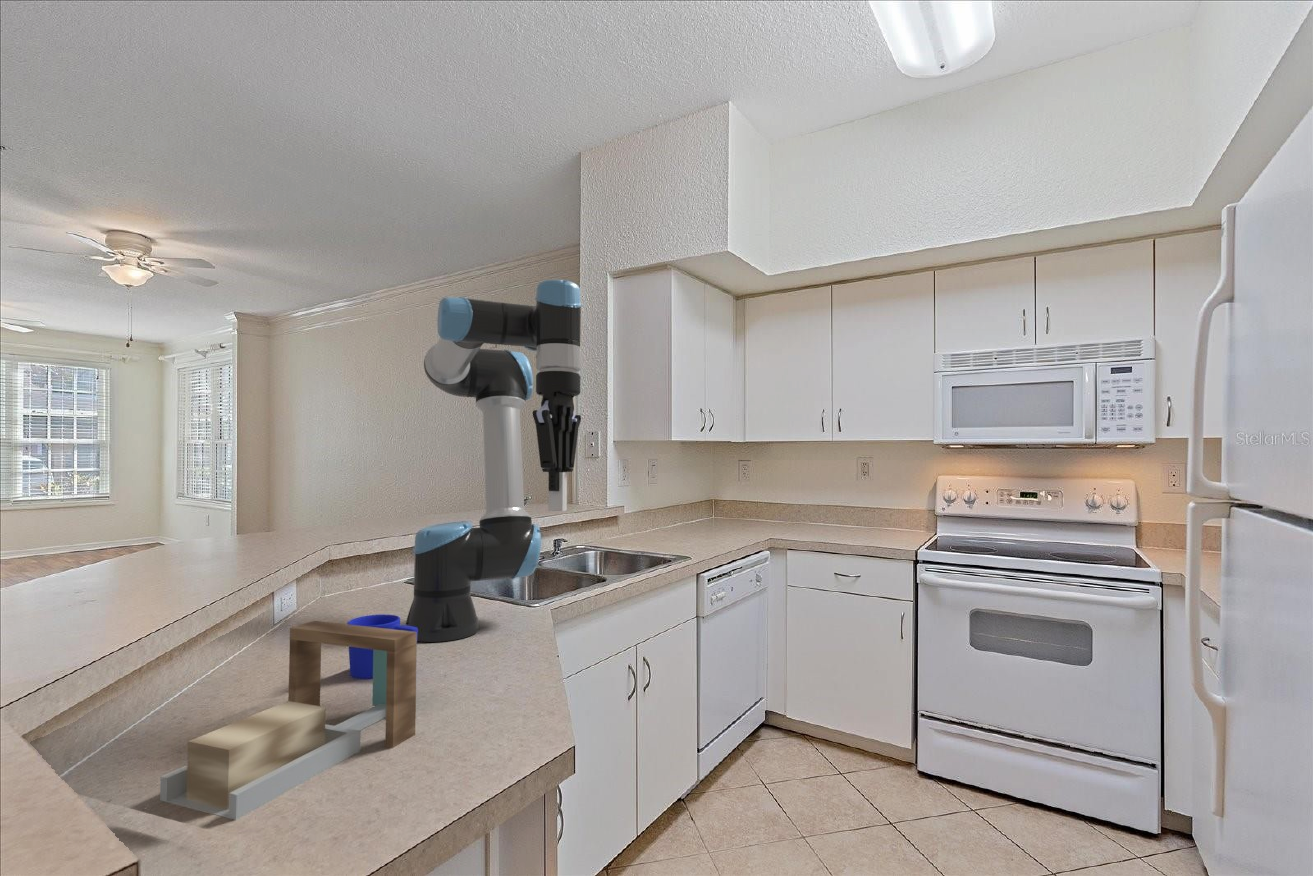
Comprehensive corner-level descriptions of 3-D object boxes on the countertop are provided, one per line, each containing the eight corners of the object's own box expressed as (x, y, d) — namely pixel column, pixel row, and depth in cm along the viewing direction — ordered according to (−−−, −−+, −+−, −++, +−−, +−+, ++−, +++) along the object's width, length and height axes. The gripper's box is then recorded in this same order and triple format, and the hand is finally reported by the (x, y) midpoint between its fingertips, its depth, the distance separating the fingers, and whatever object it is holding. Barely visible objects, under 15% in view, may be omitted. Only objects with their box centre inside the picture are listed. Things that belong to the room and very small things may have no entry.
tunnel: (312, 726, 88) (315, 620, 89) (415, 744, 83) (416, 632, 83) (287, 737, 85) (290, 627, 85) (392, 758, 79) (394, 640, 79)
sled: (361, 710, 93) (363, 644, 93) (424, 720, 89) (425, 652, 89) (159, 807, 66) (162, 715, 67) (235, 828, 63) (238, 730, 63)
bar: (286, 750, 78) (288, 701, 78) (324, 758, 76) (325, 707, 76) (186, 799, 67) (188, 741, 67) (227, 809, 65) (229, 750, 65)
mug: (401, 692, 101) (402, 628, 102) (334, 686, 104) (336, 624, 104) (429, 675, 109) (430, 616, 110) (367, 670, 112) (368, 613, 112)
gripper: (557, 378, 116) (556, 507, 115) (518, 368, 104) (517, 512, 103) (594, 376, 113) (594, 508, 112) (559, 365, 101) (558, 514, 100)
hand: (557, 510), depth 108 cm, fingers closed
